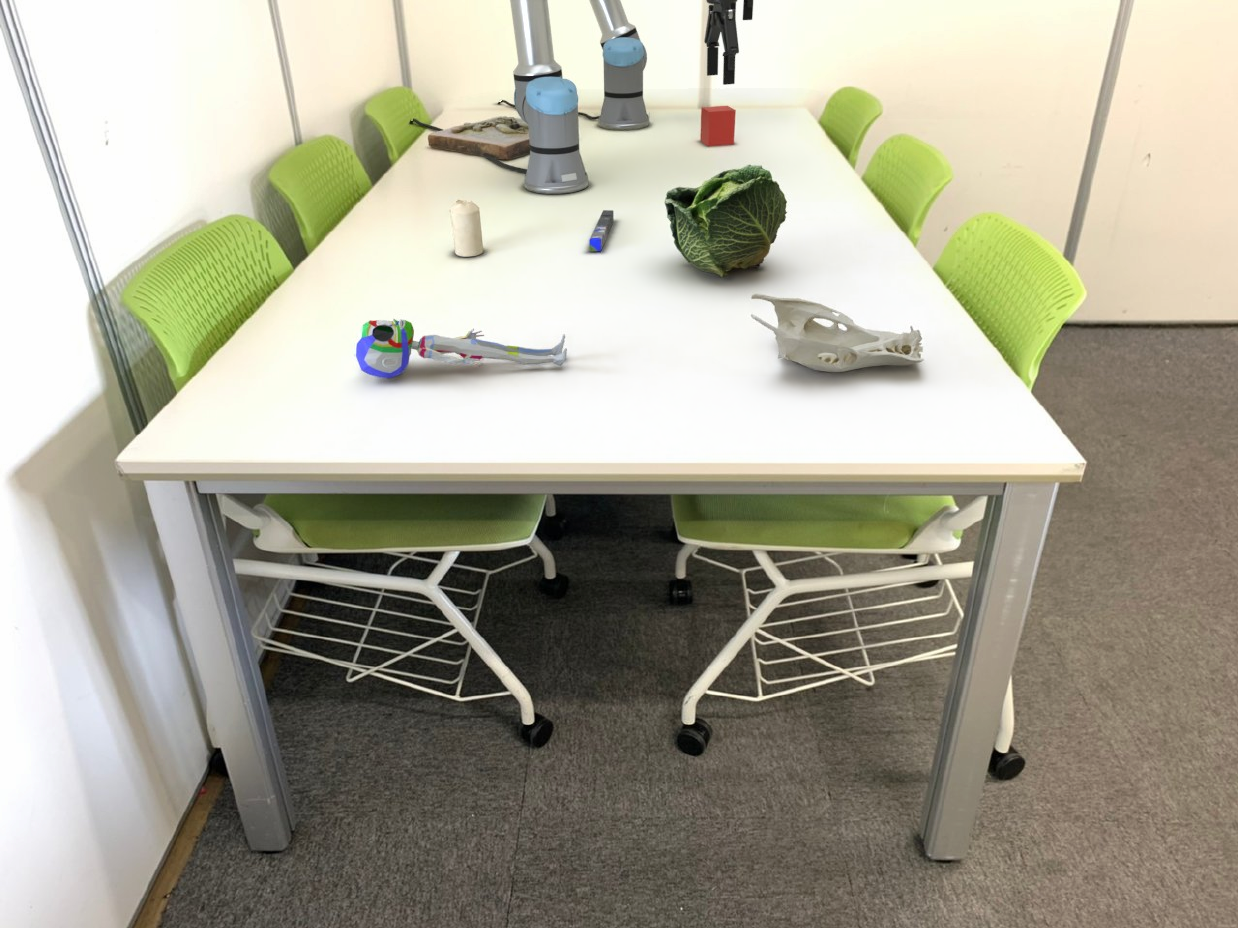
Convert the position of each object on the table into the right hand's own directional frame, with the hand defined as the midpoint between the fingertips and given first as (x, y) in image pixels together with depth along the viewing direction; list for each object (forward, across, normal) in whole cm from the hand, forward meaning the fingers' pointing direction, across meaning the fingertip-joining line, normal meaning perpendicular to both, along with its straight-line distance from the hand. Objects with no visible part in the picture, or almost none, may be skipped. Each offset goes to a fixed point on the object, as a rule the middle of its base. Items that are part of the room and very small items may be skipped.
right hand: (738, 17), depth 265 cm
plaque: (+28, -14, +74) cm, 81 cm away
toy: (+28, -156, +101) cm, 188 cm away
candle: (+28, -104, +94) cm, 144 cm away
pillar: (+28, -102, +67) cm, 125 cm away
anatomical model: (+28, -169, +48) cm, 178 cm away
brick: (+28, -32, +17) cm, 46 cm away
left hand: (+9, -48, +23) cm, 54 cm away
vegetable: (+28, -127, +50) cm, 139 cm away
